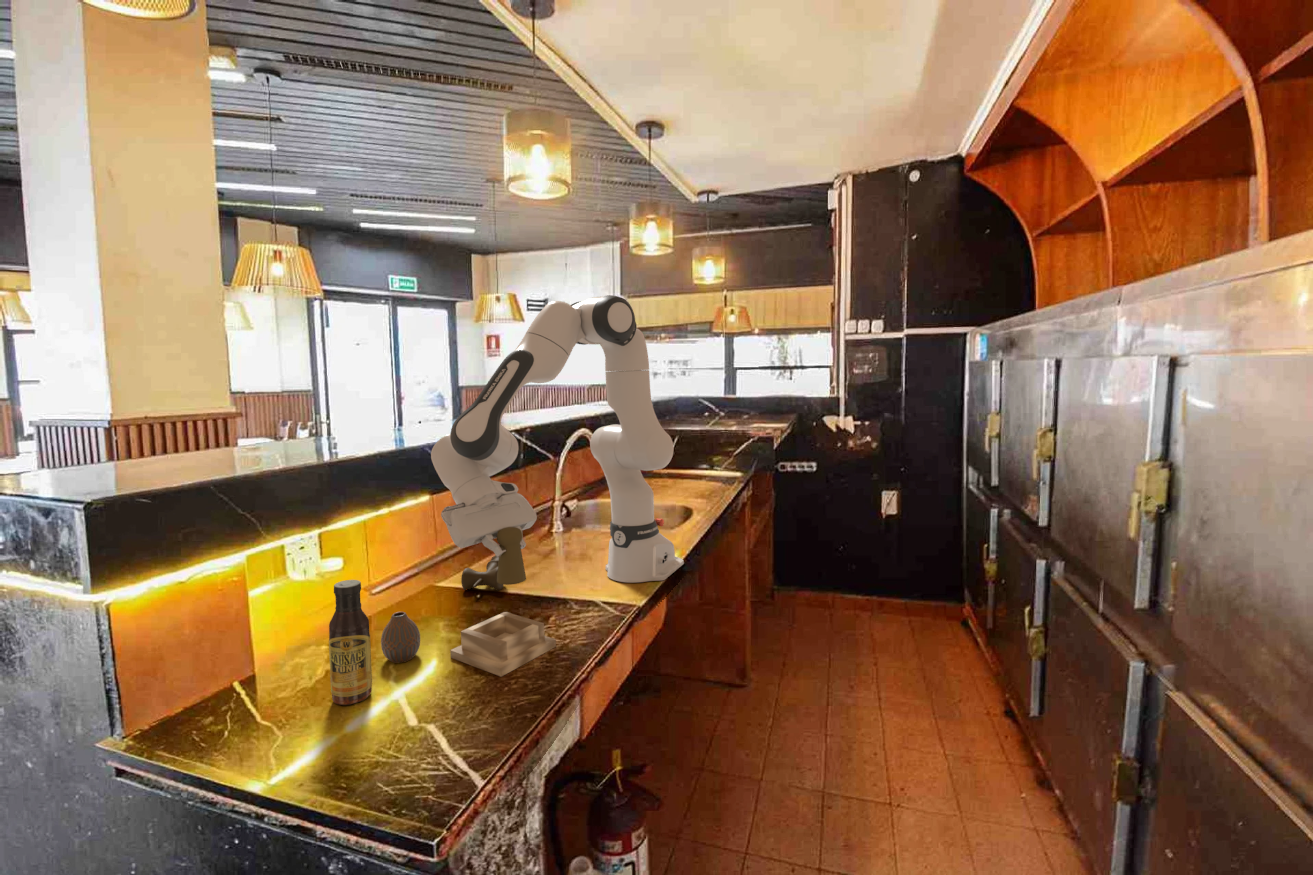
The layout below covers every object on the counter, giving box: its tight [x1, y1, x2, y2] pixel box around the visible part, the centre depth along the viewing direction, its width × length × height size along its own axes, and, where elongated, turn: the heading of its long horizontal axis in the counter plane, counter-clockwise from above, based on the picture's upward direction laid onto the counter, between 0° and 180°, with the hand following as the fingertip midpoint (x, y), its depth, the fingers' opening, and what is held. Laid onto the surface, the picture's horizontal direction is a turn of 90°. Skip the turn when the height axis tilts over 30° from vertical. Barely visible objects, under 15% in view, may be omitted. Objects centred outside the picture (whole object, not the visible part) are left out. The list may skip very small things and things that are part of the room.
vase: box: [380, 611, 421, 664], centre depth 119 cm, size 7×7×9 cm
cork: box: [496, 527, 527, 586], centre depth 130 cm, size 6×6×11 cm
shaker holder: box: [449, 611, 557, 678], centre depth 120 cm, size 14×14×5 cm
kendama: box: [460, 555, 504, 591], centre depth 159 cm, size 6×10×20 cm
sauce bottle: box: [328, 579, 373, 706], centre depth 104 cm, size 6×6×20 cm
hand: (512, 551), depth 129 cm, fingers closed on cork, 4 cm apart
